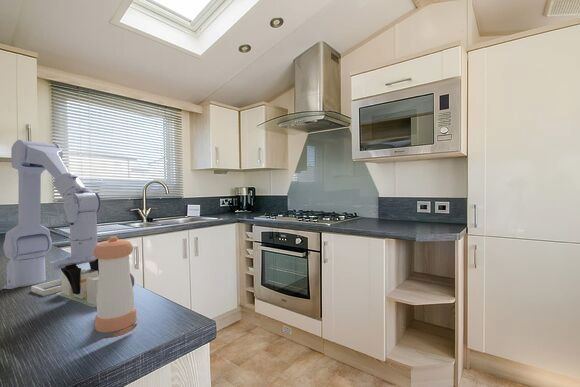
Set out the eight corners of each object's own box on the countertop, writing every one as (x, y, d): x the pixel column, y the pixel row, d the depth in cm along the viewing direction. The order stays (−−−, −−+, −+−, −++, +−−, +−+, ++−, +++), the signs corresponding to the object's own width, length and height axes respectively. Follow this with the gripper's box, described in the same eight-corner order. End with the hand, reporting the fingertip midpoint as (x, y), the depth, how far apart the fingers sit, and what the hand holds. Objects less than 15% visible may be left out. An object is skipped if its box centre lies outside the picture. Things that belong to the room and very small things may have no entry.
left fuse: (61, 293, 78) (60, 271, 78) (78, 288, 81) (77, 267, 81) (69, 295, 76) (68, 272, 76) (86, 290, 79) (85, 268, 79)
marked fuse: (73, 296, 75) (72, 273, 75) (90, 291, 78) (90, 268, 78) (81, 298, 73) (80, 275, 73) (99, 293, 76) (98, 270, 76)
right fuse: (87, 301, 72) (86, 277, 71) (104, 296, 75) (103, 273, 75) (95, 304, 70) (94, 280, 69) (112, 298, 73) (112, 275, 73)
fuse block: (55, 298, 78) (55, 286, 78) (80, 290, 83) (80, 279, 83) (94, 312, 68) (93, 298, 68) (119, 303, 73) (119, 290, 73)
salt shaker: (91, 341, 55) (87, 241, 54) (99, 325, 62) (95, 235, 61) (135, 333, 58) (131, 237, 57) (138, 318, 65) (134, 232, 64)
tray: (31, 295, 80) (31, 286, 80) (63, 287, 86) (63, 278, 86) (43, 300, 76) (43, 290, 76) (76, 291, 83) (75, 282, 83)
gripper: (58, 245, 67) (60, 303, 67) (121, 235, 79) (123, 284, 80) (44, 242, 70) (47, 298, 71) (106, 233, 83) (108, 280, 83)
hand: (86, 290), depth 75 cm, fingers closed on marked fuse, 4 cm apart
